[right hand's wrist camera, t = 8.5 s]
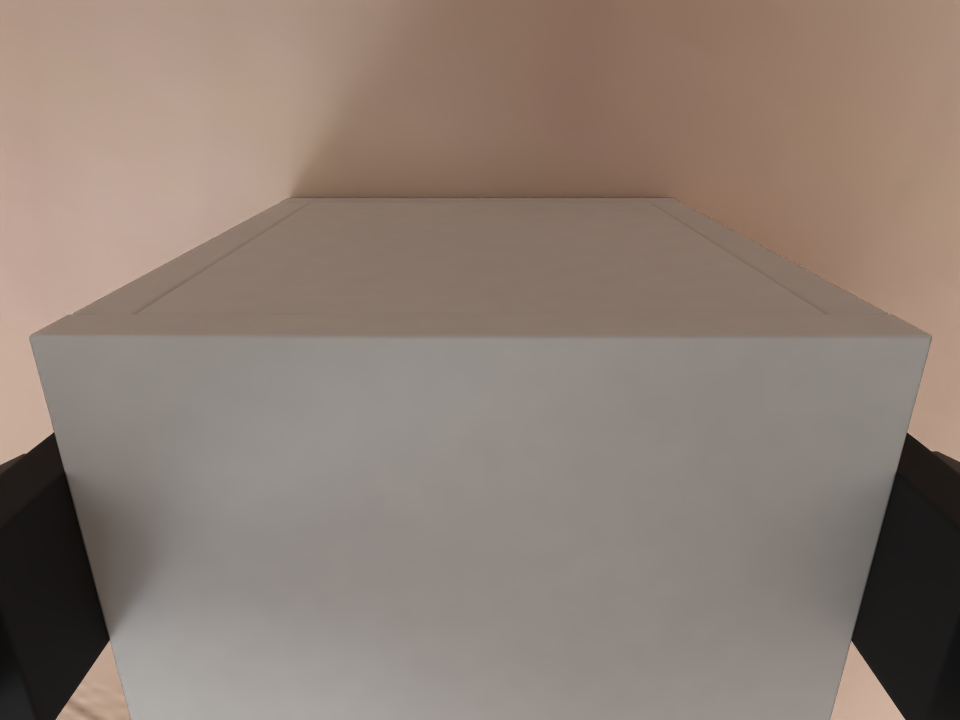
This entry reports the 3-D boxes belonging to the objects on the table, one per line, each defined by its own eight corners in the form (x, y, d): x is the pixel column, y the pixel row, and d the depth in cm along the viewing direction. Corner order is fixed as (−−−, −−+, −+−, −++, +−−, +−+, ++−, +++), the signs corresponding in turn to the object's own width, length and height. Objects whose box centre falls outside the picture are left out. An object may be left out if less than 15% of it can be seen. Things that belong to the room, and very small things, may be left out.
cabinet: (614, 760, 26) (703, 1198, 15) (345, 760, 26) (257, 1198, 15) (674, 197, 18) (935, 334, 8) (286, 197, 18) (26, 334, 8)
